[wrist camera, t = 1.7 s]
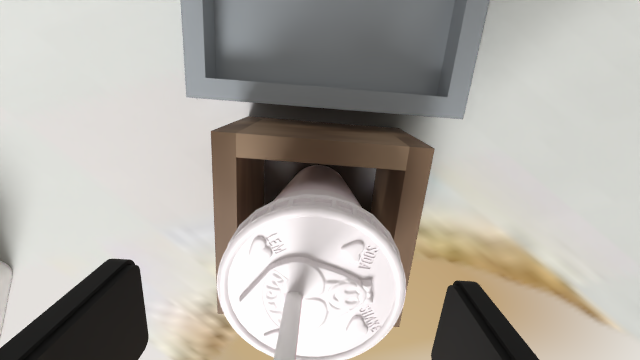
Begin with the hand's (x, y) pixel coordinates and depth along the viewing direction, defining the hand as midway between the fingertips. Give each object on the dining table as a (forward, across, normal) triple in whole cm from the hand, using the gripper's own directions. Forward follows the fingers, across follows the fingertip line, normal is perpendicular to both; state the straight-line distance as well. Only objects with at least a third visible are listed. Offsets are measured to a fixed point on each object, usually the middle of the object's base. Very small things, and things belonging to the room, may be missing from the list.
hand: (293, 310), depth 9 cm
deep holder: (+10, -1, 0) cm, 10 cm away
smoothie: (+11, -1, 0) cm, 11 cm away
